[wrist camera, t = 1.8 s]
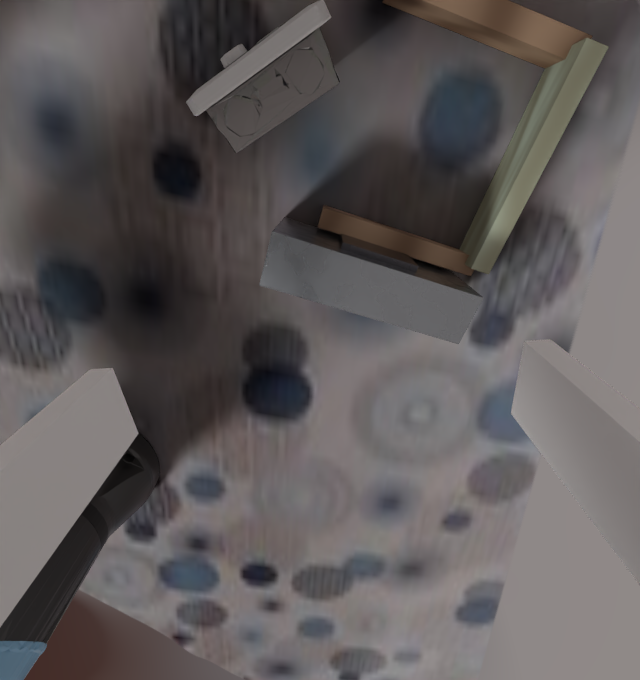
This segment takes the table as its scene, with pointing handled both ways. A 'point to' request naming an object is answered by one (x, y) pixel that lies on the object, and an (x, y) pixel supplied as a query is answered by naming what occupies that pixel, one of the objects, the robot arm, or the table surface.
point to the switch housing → (368, 280)
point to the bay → (528, 140)
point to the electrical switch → (269, 79)
